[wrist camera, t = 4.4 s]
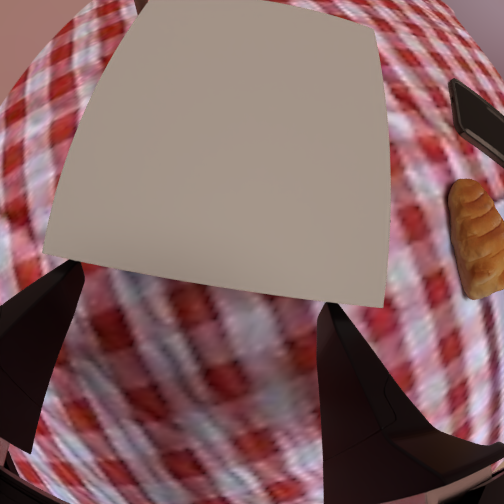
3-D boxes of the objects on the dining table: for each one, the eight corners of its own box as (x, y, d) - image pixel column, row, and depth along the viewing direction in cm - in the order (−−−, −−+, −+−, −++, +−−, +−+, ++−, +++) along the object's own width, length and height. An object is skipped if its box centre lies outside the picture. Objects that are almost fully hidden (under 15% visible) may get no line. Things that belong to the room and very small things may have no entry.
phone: (537, 192, 20) (459, 128, 19) (530, 195, 21) (452, 133, 20) (528, 138, 21) (450, 73, 20) (522, 141, 22) (445, 79, 21)
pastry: (425, 193, 19) (457, 177, 15) (469, 175, 20) (497, 161, 16) (462, 306, 18) (496, 307, 14) (501, 273, 19) (530, 269, 15)
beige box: (315, 299, 17) (382, 307, 9) (117, 268, 16) (42, 253, 8) (330, 103, 19) (373, 29, 11) (169, 78, 18) (152, -4, 10)
